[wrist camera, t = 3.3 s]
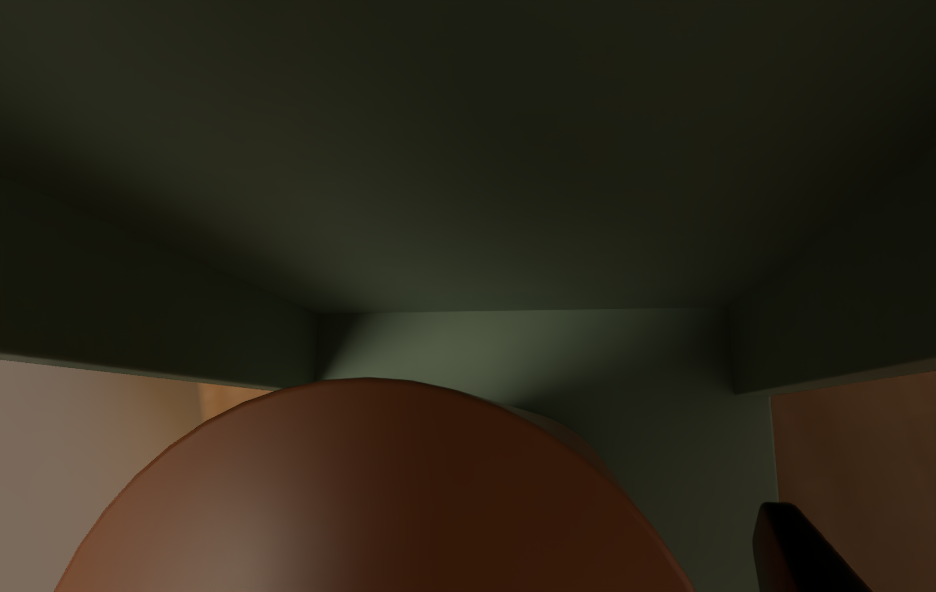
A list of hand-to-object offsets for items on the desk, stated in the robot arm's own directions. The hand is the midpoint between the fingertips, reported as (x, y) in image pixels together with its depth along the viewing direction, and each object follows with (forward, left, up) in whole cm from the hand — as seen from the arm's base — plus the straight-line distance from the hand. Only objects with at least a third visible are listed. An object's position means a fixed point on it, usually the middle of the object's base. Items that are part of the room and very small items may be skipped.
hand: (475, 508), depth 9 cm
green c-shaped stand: (-1, 0, -12) cm, 12 cm away
